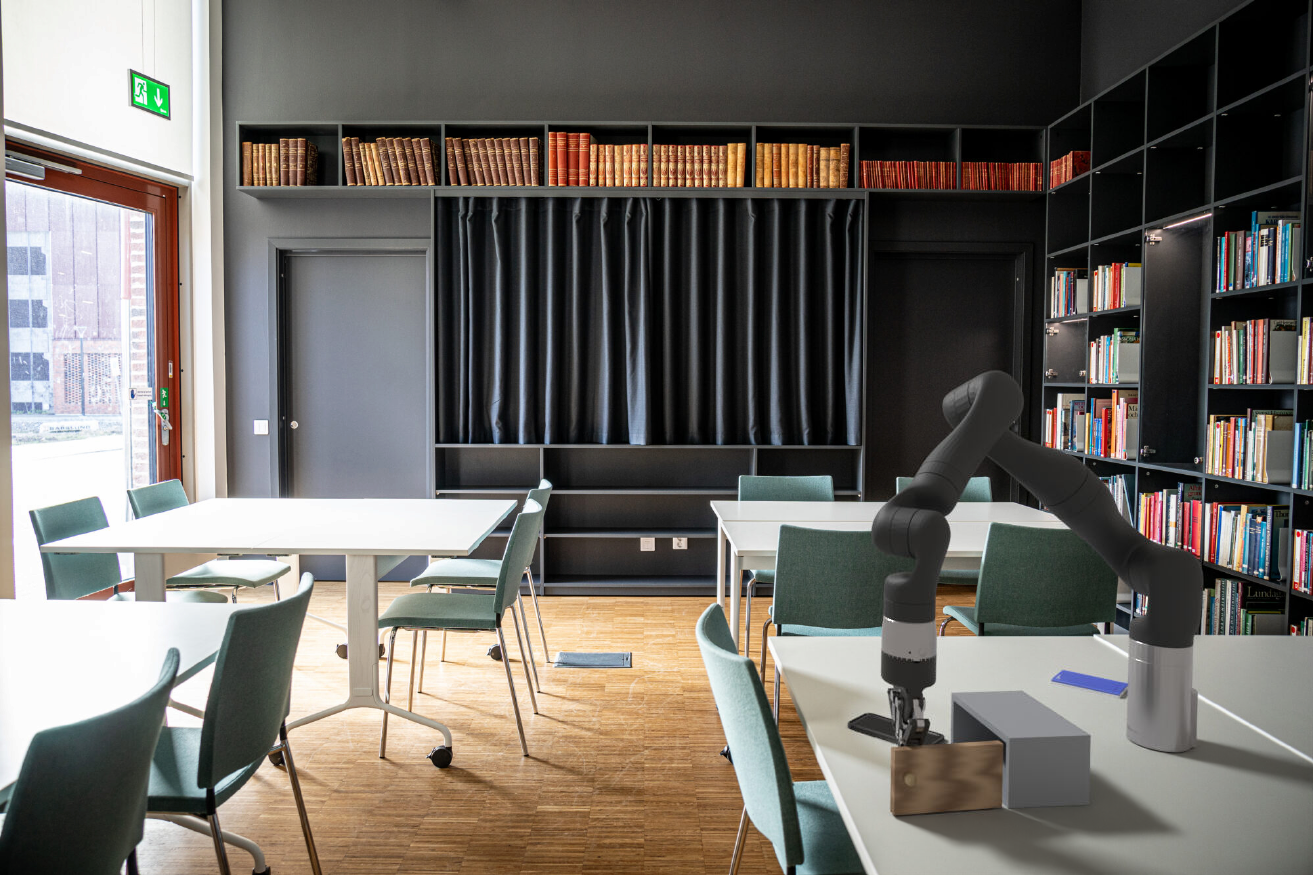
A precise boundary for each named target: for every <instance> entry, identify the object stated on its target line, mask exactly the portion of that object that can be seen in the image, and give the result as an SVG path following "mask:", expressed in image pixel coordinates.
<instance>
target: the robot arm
mask: <svg viewBox="0 0 1313 875" xmlns="http://www.w3.org/2000/svg"><path fill="white" fill-rule="evenodd" d="M1024 402H1025V399H1024V394H1023V391H1022V388H1021V387H1020V385H1019V384H1018V382H1017V381H1016V379H1015V378H1014V377H1012V376H1011V375H1010V374H1008V373H1007V372H1004V371H1002V370H989V371H986V372H983V373H980V374H979V375H977V376H975V377H973V378H971V379H970V380H968V381H966V382H965V383H962V384H961V385H960V386H957V387H956V388H954V389H953V390H951V391H949V393H947V394H946V395H945V397H943V400H942V403H941V404H942V405H941V406H942V411H943V415H944V418H945V420H946V422H947V423H948V424H949V425H950V427H951V428H952V429H953V430H952V432H950V433H949V434H948V435H947V436H946V437H945V438H944V439H943V440H942V441H941V442H939V444H938V445H937V446H936V447H935V448H934V449H933V450H932V451H931V453H930V454H929V455H927V457H926V459H925V460H924V461H923V463H921V464H922V465H921V466H920V467H919V469H918V471H917V472H916V474H915V475H914V477H913V478H912V480H911V482H910V483H909V484H908V485H907V486H905V487H904V488H902V489H901V490H900V491H899V492H898V493H897V494H895V495H894V496H893V497H892V498H890V499H888V501H887V502H886V503H885V504H884V505H882V507H881V508H880V509H879V511H878V512H877V513H876V515H875V517H874V518H873V521H872V524H871V534H870V535H871V541H872V544H873V545H874V547H875V548H876V549H877V550H878V551H879V552H880V553H882V554H884V555H887V556H892V557H898V558H899V557H900V558H905V559H912V560H916V563H915V567H914V569H913V570H912V571H904V572H896V573H892V574H889V575H888V576H887V577H886V578H885V580H884V585H883V615H882V616H883V619H882V624H881V632H880V633H881V637H880V638H881V640H880V644H881V646H880V647H881V648H880V676H881V679H882V680H883V681H884V682H885V683H887V684H888V685H891V686H893V687H889V688H887V691H886V693H887V697H888V702H889V709H890V710H889V711H890V715H891V716H890V717H891V719H892V726H893V729H896V737H897V739H899V740H898V745H897V747H903V746H916V745H923V742H924V740H925V737H926V735H927V733H928V730H930V726H931V722H930V719H929V718H924V712H925V711H926V706H927V701H926V697H925V696H924V693H923V692H924V690H925V689H928V688H932V687H933V686H934V685H935V684H936V683H937V660H938V659H937V656H938V654H937V653H938V652H937V648H938V646H937V645H938V643H937V642H938V634H937V623H936V609H937V608H936V602H937V599H936V598H937V588H938V584H939V580H940V575H941V571H942V568H943V564H944V561H945V558H946V557H947V553H948V550H949V547H950V543H951V538H952V537H951V536H952V533H951V532H952V531H951V527H950V523H949V522H948V520H947V518H946V517H948V516H949V515H950V514H951V513H952V512H953V510H954V509H955V508H956V507H957V504H958V502H959V501H960V499H961V497H962V495H963V493H964V492H965V490H966V487H967V486H968V484H969V482H970V481H971V478H972V477H973V475H974V474H975V472H976V471H977V469H978V468H979V467H980V465H981V463H982V462H983V461H984V459H985V457H986V456H987V458H989V459H990V460H992V461H993V462H994V463H996V464H997V465H998V466H999V467H1001V469H1003V470H1004V471H1005V472H1006V473H1008V474H1009V475H1010V476H1011V477H1013V479H1014V480H1016V481H1017V482H1018V483H1019V484H1021V486H1022V487H1024V488H1025V489H1026V490H1027V491H1028V492H1030V494H1032V495H1033V496H1034V498H1036V500H1037V501H1039V502H1040V503H1041V504H1042V505H1043V506H1044V507H1045V509H1047V510H1048V511H1049V512H1050V513H1052V515H1054V516H1055V518H1057V519H1058V520H1059V521H1060V522H1062V523H1063V524H1064V525H1066V526H1067V528H1069V529H1070V530H1071V531H1072V532H1073V533H1074V534H1076V535H1077V536H1078V537H1079V538H1080V539H1081V540H1083V541H1084V542H1086V543H1087V544H1088V545H1089V546H1091V547H1092V548H1093V550H1095V551H1096V552H1097V554H1098V555H1099V556H1101V558H1102V559H1103V560H1104V561H1105V563H1106V564H1107V565H1108V566H1109V567H1110V568H1111V570H1113V571H1114V573H1115V574H1116V576H1118V578H1119V579H1120V580H1121V581H1122V582H1123V583H1124V584H1125V585H1126V587H1128V588H1129V589H1130V590H1132V591H1133V592H1135V593H1137V594H1139V595H1141V596H1144V597H1147V602H1146V603H1147V604H1146V612H1145V614H1144V616H1139V617H1135V618H1132V619H1131V620H1130V621H1129V625H1128V626H1129V627H1128V657H1127V658H1128V660H1127V662H1128V664H1127V683H1128V689H1127V691H1126V692H1127V695H1126V696H1127V699H1126V700H1127V701H1126V730H1125V731H1126V737H1127V738H1128V740H1130V741H1131V742H1133V743H1134V744H1136V745H1138V746H1142V747H1143V748H1147V749H1151V750H1155V751H1161V752H1169V753H1182V752H1186V751H1189V750H1190V749H1191V748H1197V741H1198V740H1197V739H1198V736H1197V735H1198V733H1197V732H1198V705H1199V704H1198V702H1199V700H1198V699H1199V698H1198V697H1199V693H1198V692H1199V691H1198V690H1197V689H1195V688H1194V687H1193V679H1194V678H1193V674H1194V673H1193V672H1194V671H1193V670H1194V642H1195V641H1194V640H1195V635H1196V634H1197V631H1198V629H1199V627H1200V624H1201V618H1202V617H1201V614H1202V604H1203V595H1204V594H1203V593H1204V592H1203V591H1204V573H1203V569H1202V566H1201V563H1200V561H1199V560H1198V558H1197V557H1196V555H1194V554H1193V553H1192V552H1190V551H1187V550H1185V549H1182V548H1178V547H1174V546H1170V545H1165V544H1161V543H1159V542H1155V541H1153V540H1152V539H1150V538H1148V537H1147V536H1146V535H1144V534H1143V533H1142V532H1140V531H1139V530H1138V529H1136V528H1135V526H1133V525H1132V524H1130V522H1128V520H1127V519H1126V518H1124V516H1123V515H1122V513H1121V512H1120V510H1119V508H1118V505H1117V503H1116V500H1115V498H1114V496H1113V493H1112V492H1111V490H1110V489H1109V487H1108V485H1106V483H1105V482H1104V481H1103V480H1102V479H1101V478H1100V477H1099V476H1098V475H1096V473H1095V472H1093V470H1091V469H1090V468H1089V467H1088V466H1087V465H1086V464H1085V463H1083V461H1081V460H1079V459H1078V458H1077V457H1075V456H1073V455H1071V454H1068V453H1066V452H1063V451H1061V450H1057V449H1055V448H1052V447H1049V446H1045V445H1042V444H1038V443H1036V442H1033V441H1030V440H1027V439H1025V438H1023V437H1021V436H1020V435H1017V434H1016V433H1015V432H1013V431H1012V430H1010V429H1009V428H1010V427H1011V426H1013V424H1014V423H1015V421H1017V419H1018V418H1019V417H1020V416H1021V414H1022V413H1023V412H1022V411H1023V409H1024V404H1025V403H1024Z"/></svg>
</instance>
